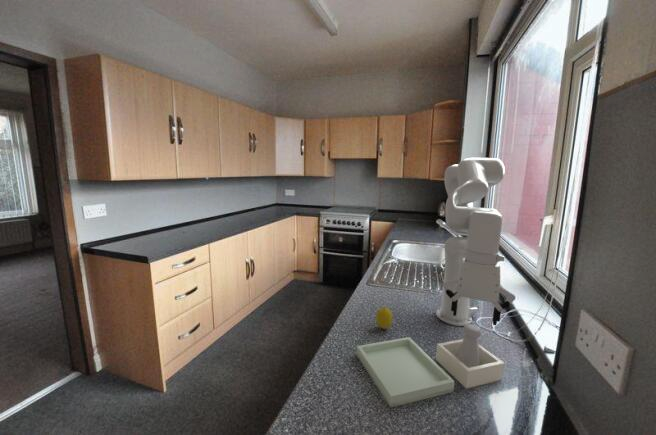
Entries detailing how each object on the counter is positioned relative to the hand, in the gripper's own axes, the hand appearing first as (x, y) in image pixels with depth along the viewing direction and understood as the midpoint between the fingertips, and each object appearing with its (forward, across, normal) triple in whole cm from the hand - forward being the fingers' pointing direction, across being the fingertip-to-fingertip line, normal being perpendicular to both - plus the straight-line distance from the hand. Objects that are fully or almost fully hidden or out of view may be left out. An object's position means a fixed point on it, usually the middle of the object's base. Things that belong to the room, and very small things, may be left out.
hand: (474, 318), depth 78 cm
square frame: (+16, 0, -1) cm, 16 cm away
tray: (+16, +16, +10) cm, 25 cm away
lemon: (+16, +27, -10) cm, 33 cm away
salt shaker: (+16, 0, -1) cm, 16 cm away
